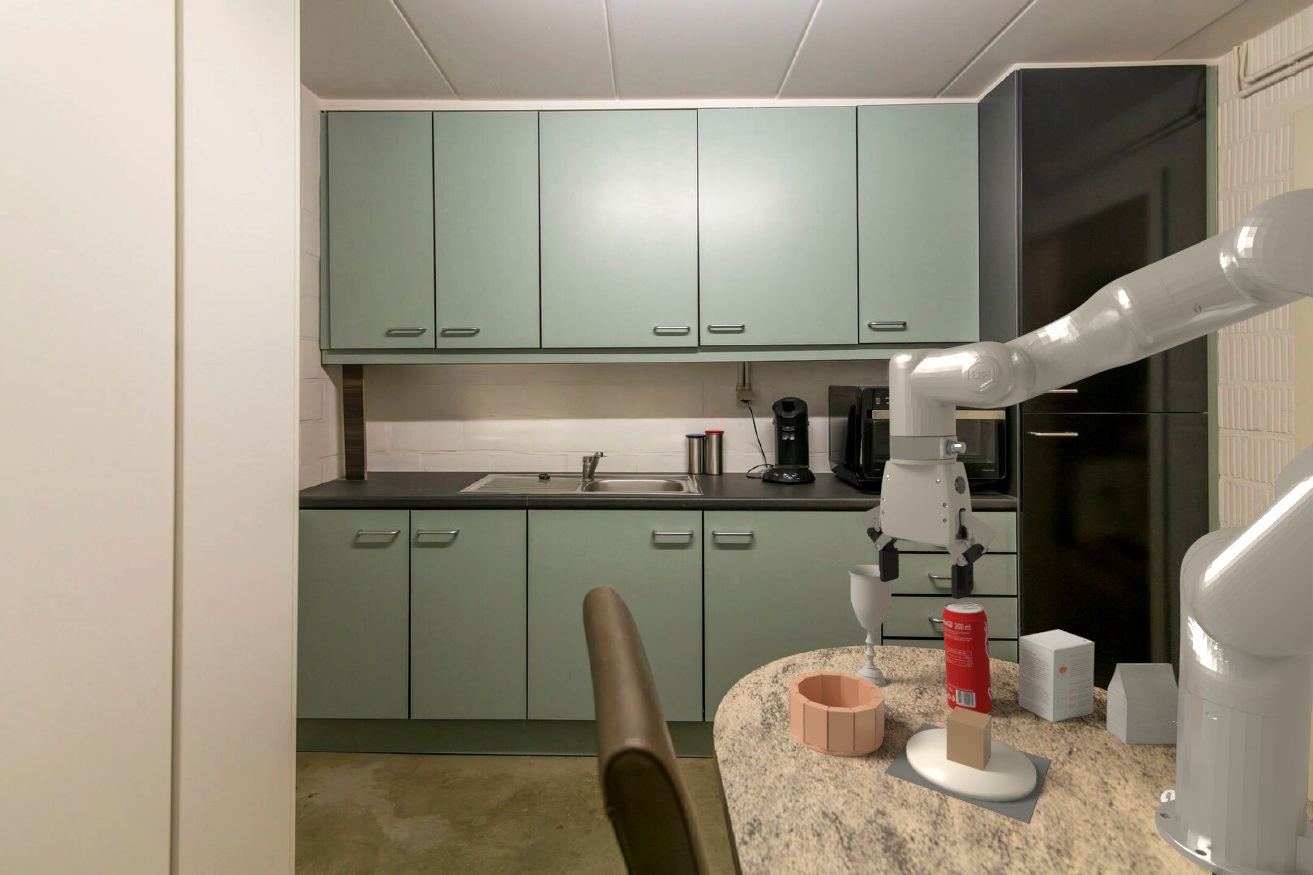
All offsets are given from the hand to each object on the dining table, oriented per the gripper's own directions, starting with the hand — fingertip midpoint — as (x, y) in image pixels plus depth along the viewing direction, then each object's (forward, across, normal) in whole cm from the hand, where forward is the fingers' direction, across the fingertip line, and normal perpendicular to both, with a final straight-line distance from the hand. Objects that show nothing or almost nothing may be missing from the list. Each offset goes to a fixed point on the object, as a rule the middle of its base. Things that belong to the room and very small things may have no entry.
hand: (923, 587), depth 80 cm
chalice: (+21, +17, -12) cm, 29 cm away
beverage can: (+21, +3, -15) cm, 26 cm away
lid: (+21, -5, -1) cm, 21 cm away
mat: (+21, -5, -1) cm, 22 cm away
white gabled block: (+22, -15, -26) cm, 37 cm away
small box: (+22, -5, -25) cm, 33 cm away
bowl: (+21, +10, +5) cm, 24 cm away
